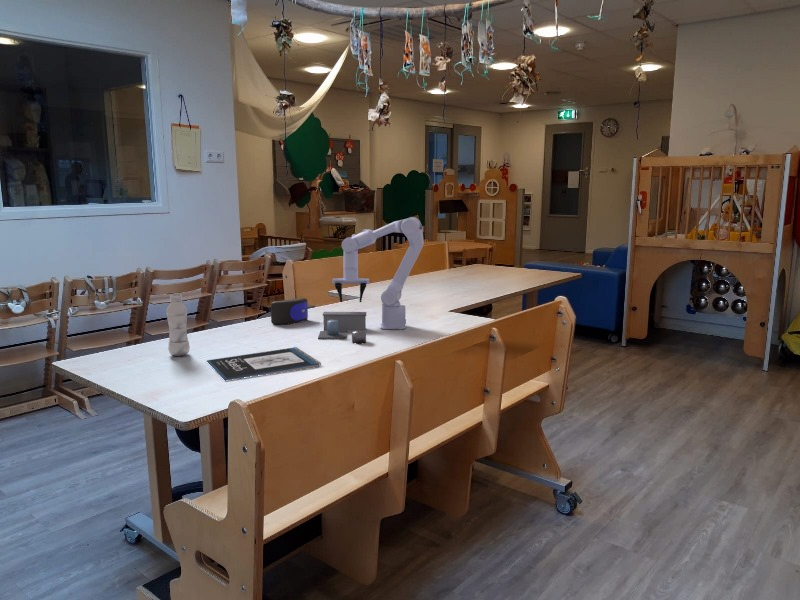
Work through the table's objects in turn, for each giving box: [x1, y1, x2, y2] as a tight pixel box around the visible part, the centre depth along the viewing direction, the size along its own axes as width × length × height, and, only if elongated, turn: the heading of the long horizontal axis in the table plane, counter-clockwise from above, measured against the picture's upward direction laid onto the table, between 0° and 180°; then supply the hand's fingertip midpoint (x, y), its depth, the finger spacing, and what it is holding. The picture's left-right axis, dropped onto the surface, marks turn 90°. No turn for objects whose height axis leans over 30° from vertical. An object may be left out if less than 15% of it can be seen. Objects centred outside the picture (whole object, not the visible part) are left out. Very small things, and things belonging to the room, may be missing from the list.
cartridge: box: [327, 320, 338, 336], centre depth 224 cm, size 4×4×5 cm
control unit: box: [322, 311, 367, 332], centre depth 234 cm, size 17×5×7 cm, turn 92°
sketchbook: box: [206, 346, 322, 382], centre depth 189 cm, size 22×30×2 cm
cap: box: [351, 330, 367, 345], centre depth 216 cm, size 5×5×4 cm
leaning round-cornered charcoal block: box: [270, 297, 309, 326], centre depth 244 cm, size 16×5×9 cm, turn 127°
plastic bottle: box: [165, 293, 190, 357], centre depth 196 cm, size 6×7×20 cm
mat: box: [317, 330, 348, 340], centre depth 225 cm, size 10×10×1 cm
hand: (350, 301), depth 241 cm, fingers open, 7 cm apart
